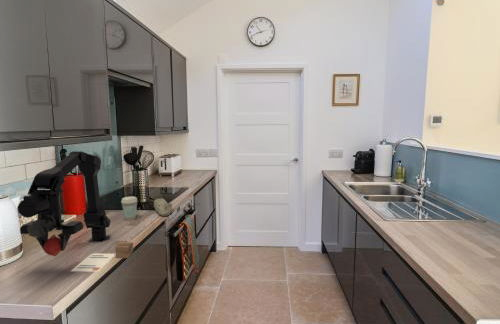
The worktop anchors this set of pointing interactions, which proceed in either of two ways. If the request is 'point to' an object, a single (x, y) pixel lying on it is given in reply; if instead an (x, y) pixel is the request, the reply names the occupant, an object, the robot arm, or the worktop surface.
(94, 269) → the letter
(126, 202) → the coffee cup
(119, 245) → the walnut block
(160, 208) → the long grey stone
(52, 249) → the onion
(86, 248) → the worktop surface
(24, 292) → the worktop surface
